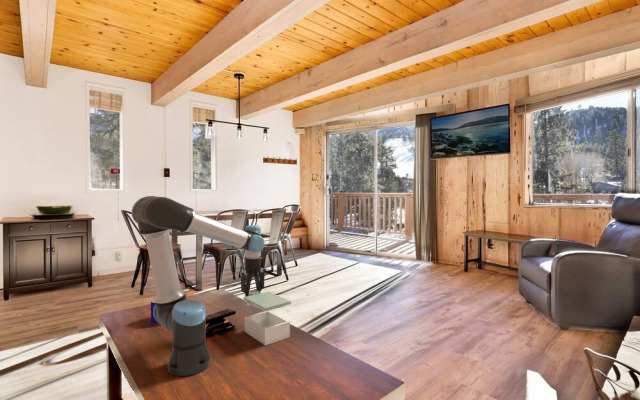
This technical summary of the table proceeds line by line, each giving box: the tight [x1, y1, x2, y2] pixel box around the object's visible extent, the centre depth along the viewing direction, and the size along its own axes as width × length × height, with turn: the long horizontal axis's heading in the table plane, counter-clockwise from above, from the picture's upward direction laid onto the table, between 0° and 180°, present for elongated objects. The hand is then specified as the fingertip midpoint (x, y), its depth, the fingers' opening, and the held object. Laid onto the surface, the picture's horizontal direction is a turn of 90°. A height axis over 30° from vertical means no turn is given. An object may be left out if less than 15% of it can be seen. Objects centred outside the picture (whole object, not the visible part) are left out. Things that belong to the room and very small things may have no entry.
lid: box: [243, 289, 292, 312], centre depth 156 cm, size 25×14×2 cm, turn 41°
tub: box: [244, 310, 291, 346], centre depth 154 cm, size 18×13×7 cm
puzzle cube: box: [150, 300, 159, 324], centre depth 170 cm, size 10×10×10 cm
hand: (252, 304), depth 163 cm, fingers closed on lid, 4 cm apart
